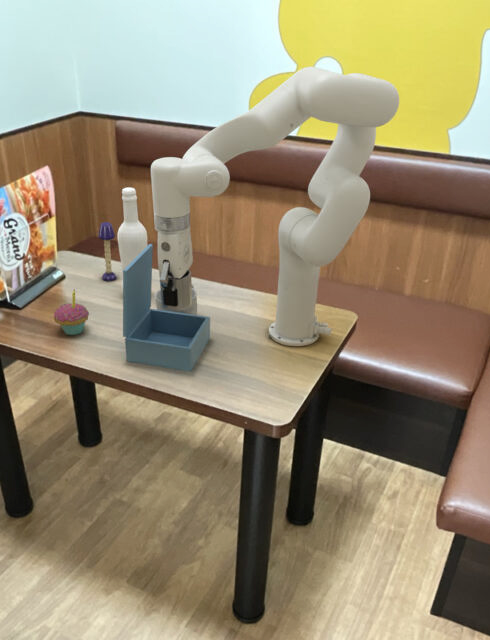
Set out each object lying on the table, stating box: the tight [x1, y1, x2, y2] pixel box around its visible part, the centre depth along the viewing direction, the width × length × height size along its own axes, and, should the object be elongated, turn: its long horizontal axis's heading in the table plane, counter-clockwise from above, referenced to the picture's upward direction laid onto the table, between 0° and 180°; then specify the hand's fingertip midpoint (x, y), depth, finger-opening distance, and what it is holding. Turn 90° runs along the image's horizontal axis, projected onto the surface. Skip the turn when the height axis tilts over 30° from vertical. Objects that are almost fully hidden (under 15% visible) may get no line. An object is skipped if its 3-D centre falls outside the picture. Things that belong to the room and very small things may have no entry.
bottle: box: [117, 186, 148, 295], centre depth 162 cm, size 8×8×30 cm
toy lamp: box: [98, 221, 118, 282], centre depth 176 cm, size 5×5×17 cm
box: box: [124, 308, 211, 373], centre depth 144 cm, size 16×16×7 cm
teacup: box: [154, 284, 198, 315], centre depth 157 cm, size 14×11×8 cm
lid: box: [122, 243, 154, 338], centre depth 138 cm, size 16×16×1 cm
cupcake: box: [53, 288, 90, 336], centre depth 151 cm, size 9×8×12 cm
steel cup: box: [158, 268, 193, 311], centre depth 136 cm, size 7×7×8 cm
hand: (176, 297), depth 137 cm, fingers closed on steel cup, 6 cm apart
